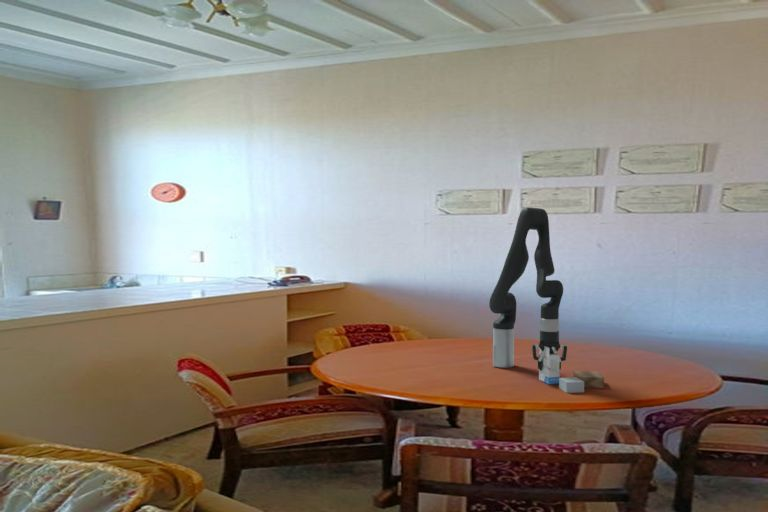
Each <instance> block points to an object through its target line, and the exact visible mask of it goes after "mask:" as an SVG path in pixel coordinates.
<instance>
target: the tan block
mask: <svg viewBox="0 0 768 512" xmlns="http://www.w3.org/2000/svg"><path fill="white" fill-rule="evenodd" d="M572 373H573V375H572V376H573V377H577V378H578V379H580V380H582V381H584V388H593V389H594V388H596V389H604V388H605V377H604V375H602V373H600V371H587V370H585V371H584V370H573V372H572ZM573 377H572V378H573Z"/></svg>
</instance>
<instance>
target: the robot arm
mask: <svg viewBox="0 0 768 512" xmlns="http://www.w3.org/2000/svg"><path fill="white" fill-rule="evenodd" d="M549 221H550V220H549V216H548V212H547V211H546V209H544V208H540V207H539V208H538V207H524V208H523V209H521V211H520V213H519V215H518V218H517V222H516V226H515V230H514V235H513V239H512V241H511V245H510V247H509V250H508V253H507V255H506V258H505V261H504V265H503V267H502V270H501V273H500V275H499V278H498V280H497V283H496V285H495V287H494V289H493V291H492V293H491V295H490V298H489V309H490V311H491V313H493V314H498V315H499V314H500V316H499V317H498V318H497V319H496V320H494V321H493V323H492V326H493V327H492V329H493V330H492V338H493V339H492V342H493V343H492V366H493V367H495V368H503V369H504V368H506V369H507V368H512V367H514V366H515V365H514V363H515V361H514V360H515V359H514V358H515V352H514V351H515V350H514V349H515V325H516V319H517V299H516V296H515V295H514V294H513V292H509V291H510V289H511V288H512V286H513V285H515V283H516V282H518V280H519V279H520V278H521V277H522V275H523V274H524V273H525V270H526V268H527V265H528V263H529V259H530V255H529V251H528V247H527V237H528V233H529V231H530V230H533V231H536V232H537V236H538V241H537V245H536V248H535V251H534V255H533V258H534V259H533V261H534V264H535V268H536V285H535V291H536V292H535V293H536V294H537V295H538V296H539V297H540V298H542V299H545V298H546V299H548V298H549V301H548V302H546V303H542V304H541V306H540V321H539V343H538V344H532V345H531V351H532V358H533V360H535V361H537V369H538V371H539V370H540V371H542V361H541V360H542V358H543V357H544V355H545V351H546V347H548V348H550V350H549V354H557V355H559V353H558V351H559V350H560V349H561V351H562V354H561V357H560V365H559V371H560V370H561V368H562V361H563V362H564V361H565V362H566V360H567V353H568V346H567V345H566V344H560V321H559V314H560V313H559V312H560V311H559V310H560V309H559V308H560V305H561V301H562V297H563V296H564V295H563V294H564V285H563V283H562V282H561V281H560V280H558V279H554V280H553V279H551V280H547V277H551V276H552V275H553V274H555V266H554V262H553V257H552V252H551V251H552V250H551V241H550V222H549ZM544 346H545V348H544ZM539 348H540V349H541V350H542V353H540V355H539V354H538V356H537V350H539Z"/></svg>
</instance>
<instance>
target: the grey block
mask: <svg viewBox="0 0 768 512" xmlns="http://www.w3.org/2000/svg"><path fill="white" fill-rule="evenodd" d="M558 388H559V389H560V390H561V391H563V392H564V393H566V394H570V393H571V394H573V393H585V387H584V381H582V380H580V379H578V378H577V377H559V384H558Z"/></svg>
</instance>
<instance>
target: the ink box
mask: <svg viewBox="0 0 768 512" xmlns="http://www.w3.org/2000/svg"><path fill="white" fill-rule="evenodd" d="M544 348H545V346H544ZM538 350H539V351H538V352H539V353H538V356H539V355H540V353H542V350H541V349H540V348H539V347H538ZM549 350H550V348H548V347H546V351H545V355H544V357H543V358H542V360H541V361H542V371H540V370H539V369H538V381H541V382H543V383H546V384H547V385H559V378H560V370H559V365H560V354H558V355H557V354H549Z"/></svg>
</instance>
